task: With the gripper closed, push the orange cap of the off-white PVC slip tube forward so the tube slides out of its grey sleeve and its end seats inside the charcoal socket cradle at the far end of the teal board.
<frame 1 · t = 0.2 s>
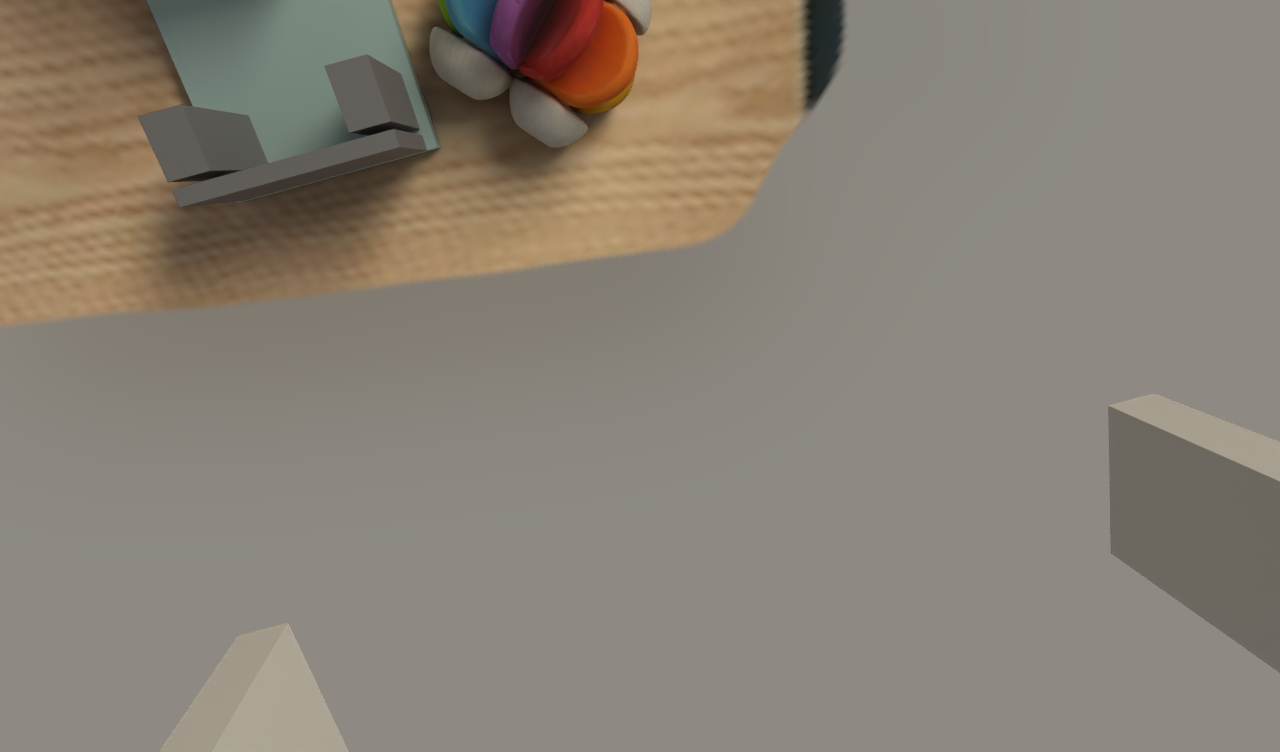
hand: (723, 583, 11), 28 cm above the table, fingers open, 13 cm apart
toy car: (541, 38, 34), on the table
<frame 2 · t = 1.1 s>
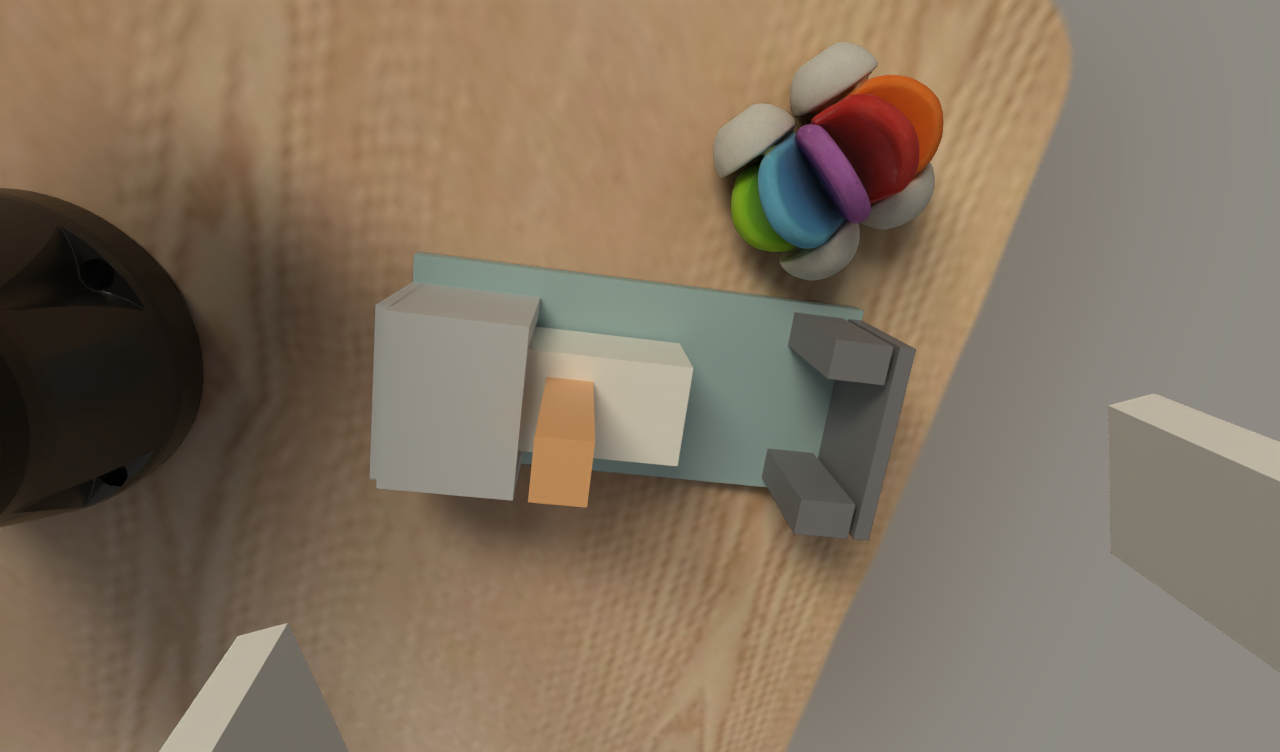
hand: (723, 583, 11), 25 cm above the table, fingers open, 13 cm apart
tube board: (631, 376, 36), on the table
toy car: (809, 168, 34), on the table
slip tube: (546, 412, 29), point 7 cm above the table, slide at 0.0 cm
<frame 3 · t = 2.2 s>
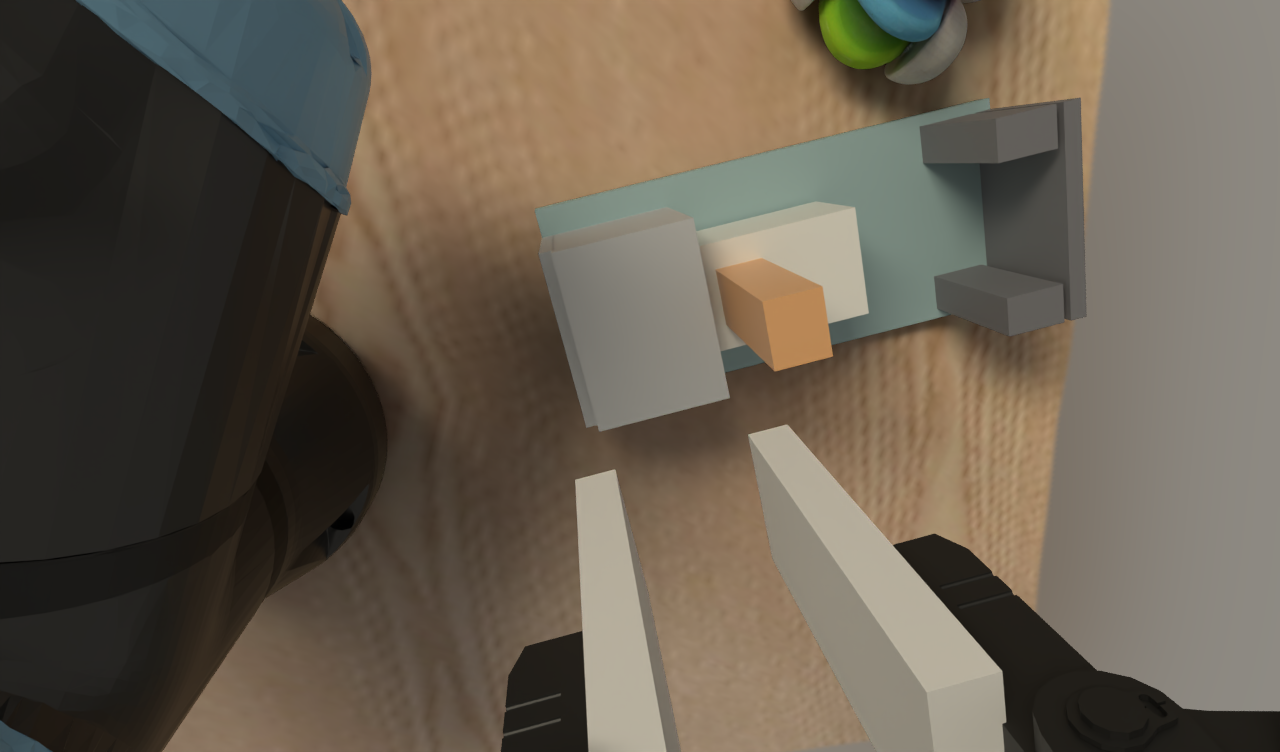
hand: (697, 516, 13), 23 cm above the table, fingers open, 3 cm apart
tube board: (775, 255, 35), on the table
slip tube: (732, 301, 28), point 7 cm above the table, slide at 0.0 cm
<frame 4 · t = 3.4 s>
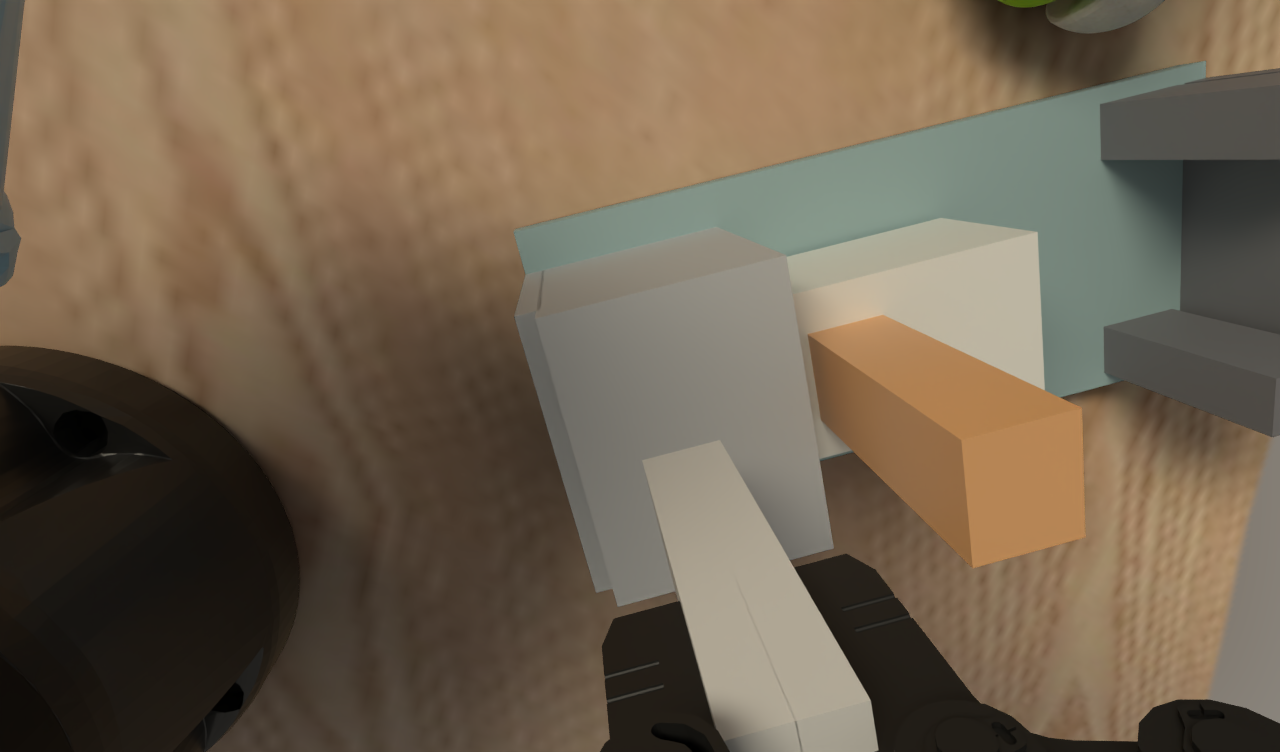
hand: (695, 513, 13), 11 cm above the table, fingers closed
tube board: (872, 296, 24), on the table
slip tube: (839, 390, 17), point 7 cm above the table, slide at 0.0 cm
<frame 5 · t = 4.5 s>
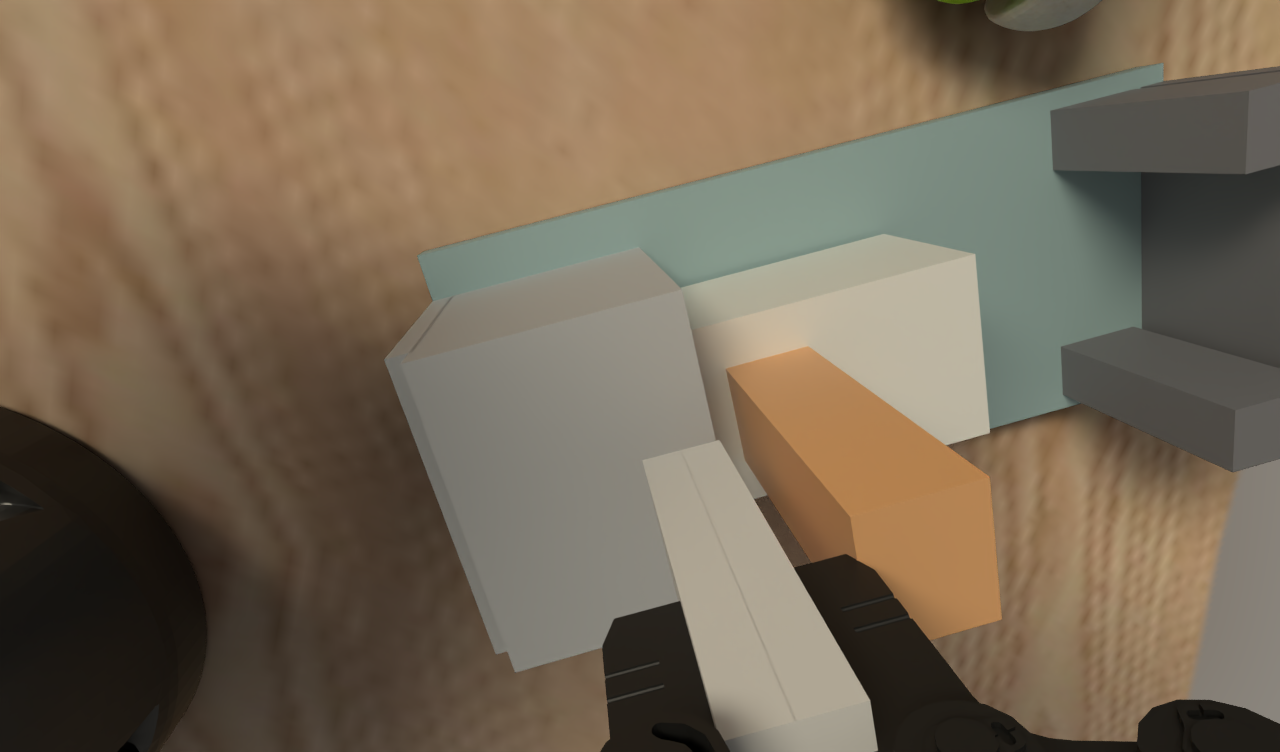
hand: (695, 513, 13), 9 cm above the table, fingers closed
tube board: (814, 317, 22), on the table
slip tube: (758, 432, 15), point 7 cm above the table, slide at 0.1 cm, touching gripper
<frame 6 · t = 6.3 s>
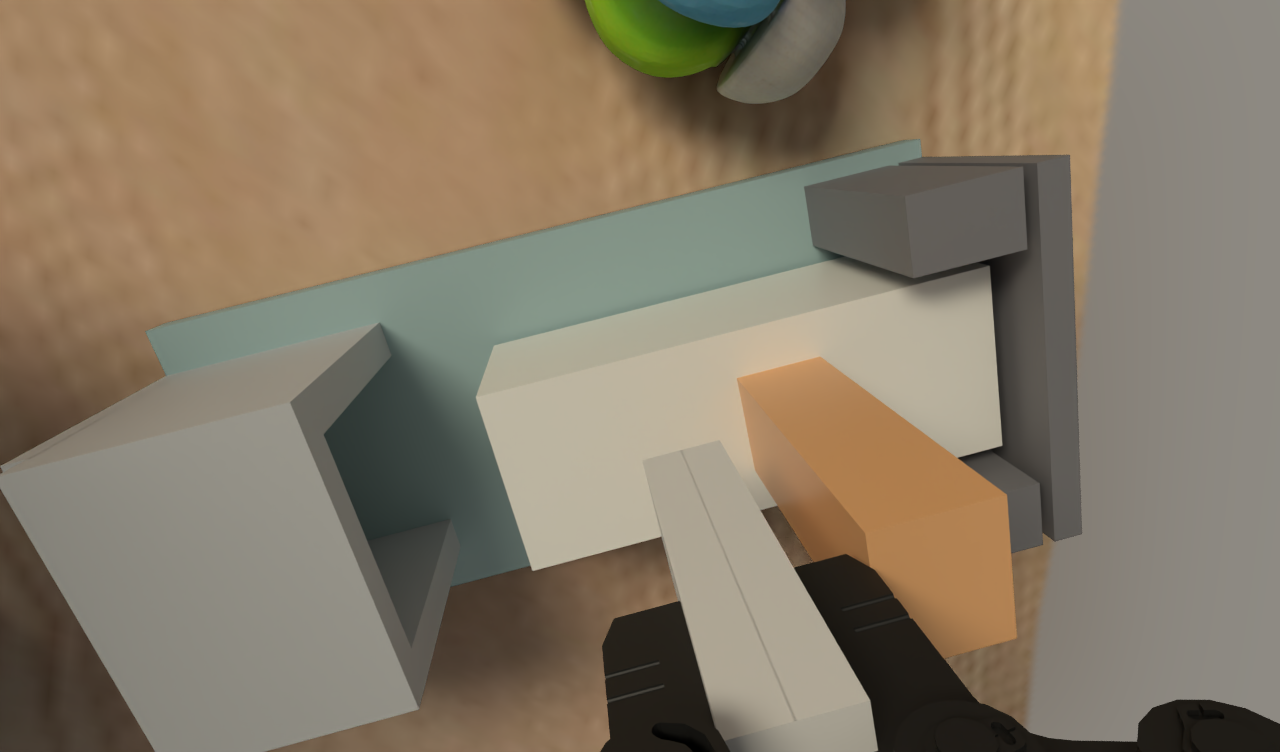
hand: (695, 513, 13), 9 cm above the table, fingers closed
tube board: (584, 387, 22), on the table
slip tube: (768, 442, 15), point 7 cm above the table, slide at 7.9 cm, touching gripper
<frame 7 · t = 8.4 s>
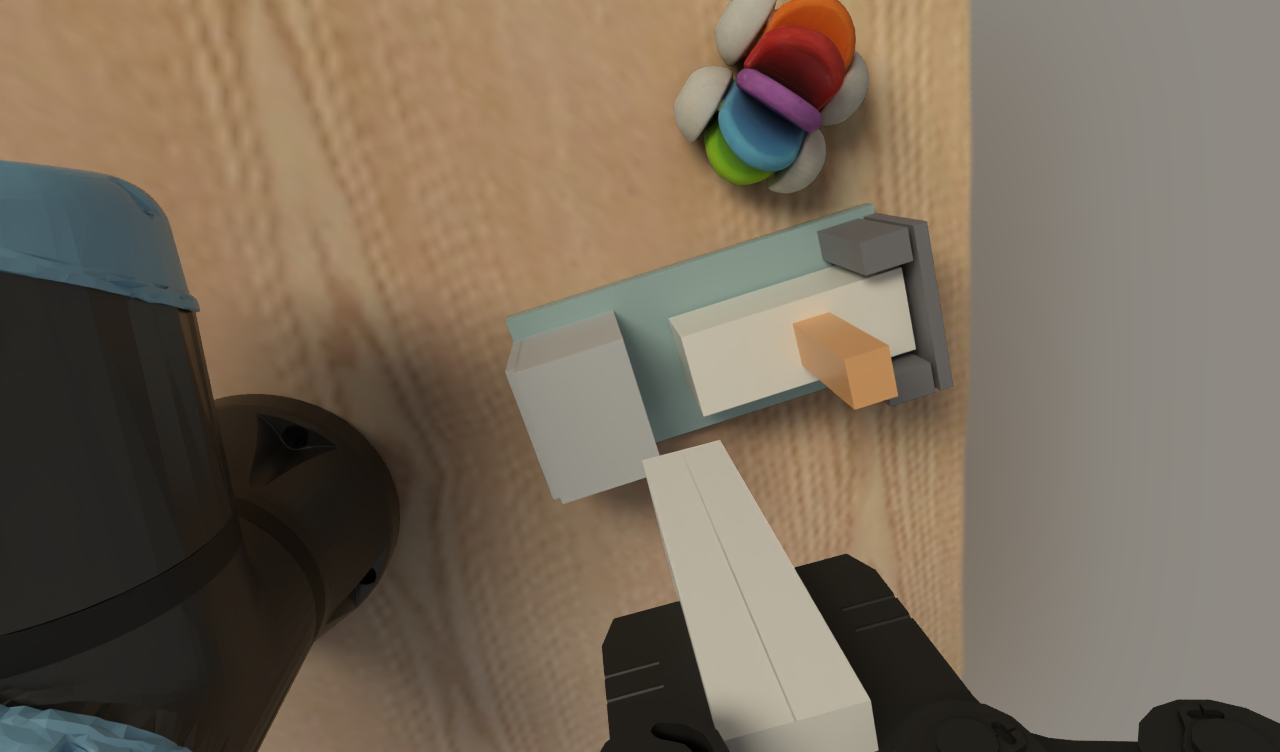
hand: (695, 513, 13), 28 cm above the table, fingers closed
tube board: (708, 339, 42), on the table
toy car: (759, 99, 39), on the table
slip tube: (808, 349, 35), point 7 cm above the table, slide at 7.9 cm
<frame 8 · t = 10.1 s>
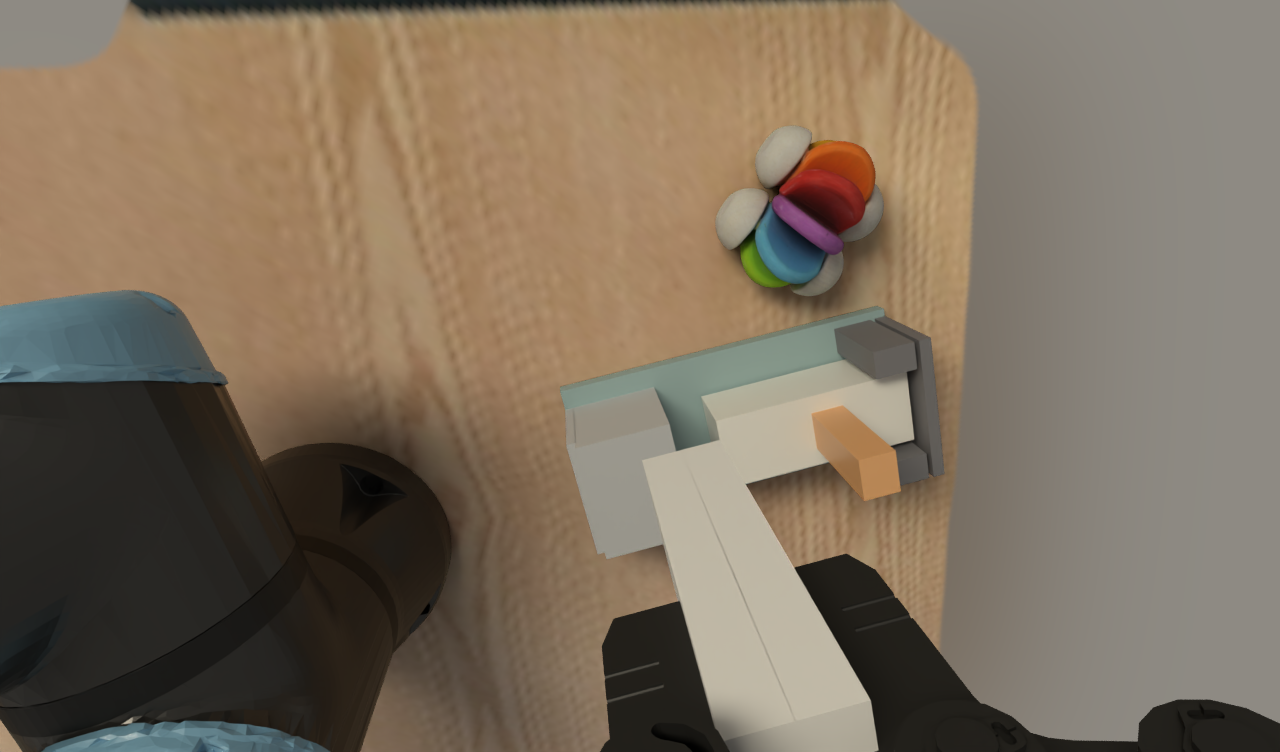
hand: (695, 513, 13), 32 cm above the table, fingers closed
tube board: (733, 413, 48), on the table
toy car: (787, 212, 45), on the table
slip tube: (824, 437, 41), point 7 cm above the table, slide at 7.9 cm
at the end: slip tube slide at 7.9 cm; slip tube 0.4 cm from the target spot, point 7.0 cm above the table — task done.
